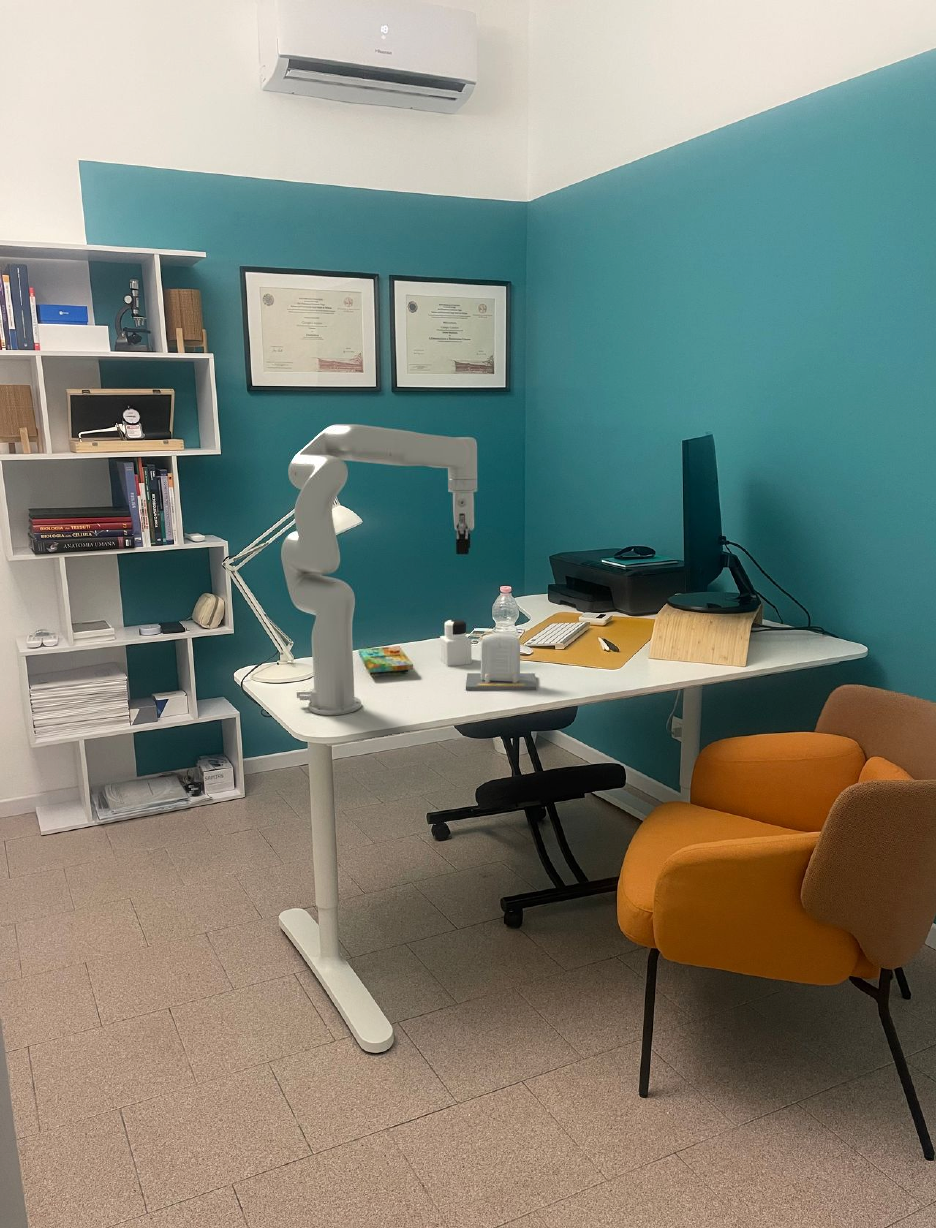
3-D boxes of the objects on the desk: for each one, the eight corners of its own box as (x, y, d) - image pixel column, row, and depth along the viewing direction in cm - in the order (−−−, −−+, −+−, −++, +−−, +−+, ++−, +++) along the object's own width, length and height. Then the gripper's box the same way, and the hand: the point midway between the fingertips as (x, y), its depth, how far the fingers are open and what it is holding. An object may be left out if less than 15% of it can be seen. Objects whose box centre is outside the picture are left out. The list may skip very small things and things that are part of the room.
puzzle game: (399, 643, 269) (413, 661, 250) (399, 659, 270) (413, 678, 251) (358, 646, 266) (369, 664, 247) (358, 662, 267) (369, 682, 248)
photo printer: (521, 678, 246) (521, 632, 243) (519, 683, 241) (519, 636, 239) (482, 676, 247) (481, 631, 245) (479, 681, 243) (479, 635, 240)
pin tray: (465, 690, 239) (465, 677, 238) (467, 676, 251) (467, 664, 250) (536, 690, 238) (536, 677, 238) (534, 676, 250) (535, 664, 249)
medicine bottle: (463, 657, 270) (463, 617, 267) (471, 664, 263) (471, 622, 260) (440, 660, 267) (439, 619, 265) (447, 666, 261) (446, 624, 258)
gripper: (476, 488, 235) (476, 556, 239) (478, 482, 252) (478, 546, 256) (446, 488, 235) (447, 556, 239) (450, 483, 252) (451, 546, 256)
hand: (463, 551), depth 247 cm, fingers open, 9 cm apart
